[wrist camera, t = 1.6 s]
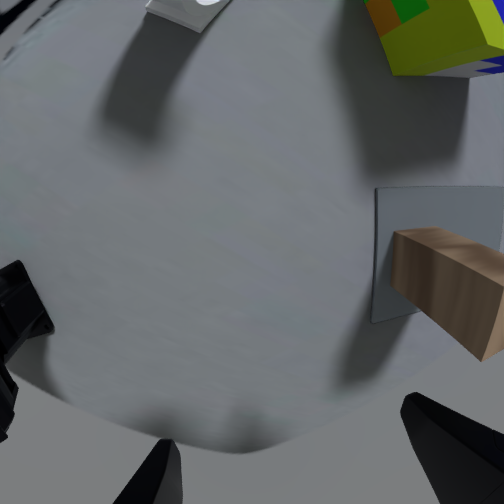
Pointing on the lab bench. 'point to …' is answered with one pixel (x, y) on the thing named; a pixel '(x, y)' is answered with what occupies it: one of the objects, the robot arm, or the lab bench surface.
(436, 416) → the robot arm
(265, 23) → the lab bench surface
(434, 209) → the slate mat
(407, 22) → the puzzle toy
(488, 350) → the walnut block
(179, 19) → the headphone stand
